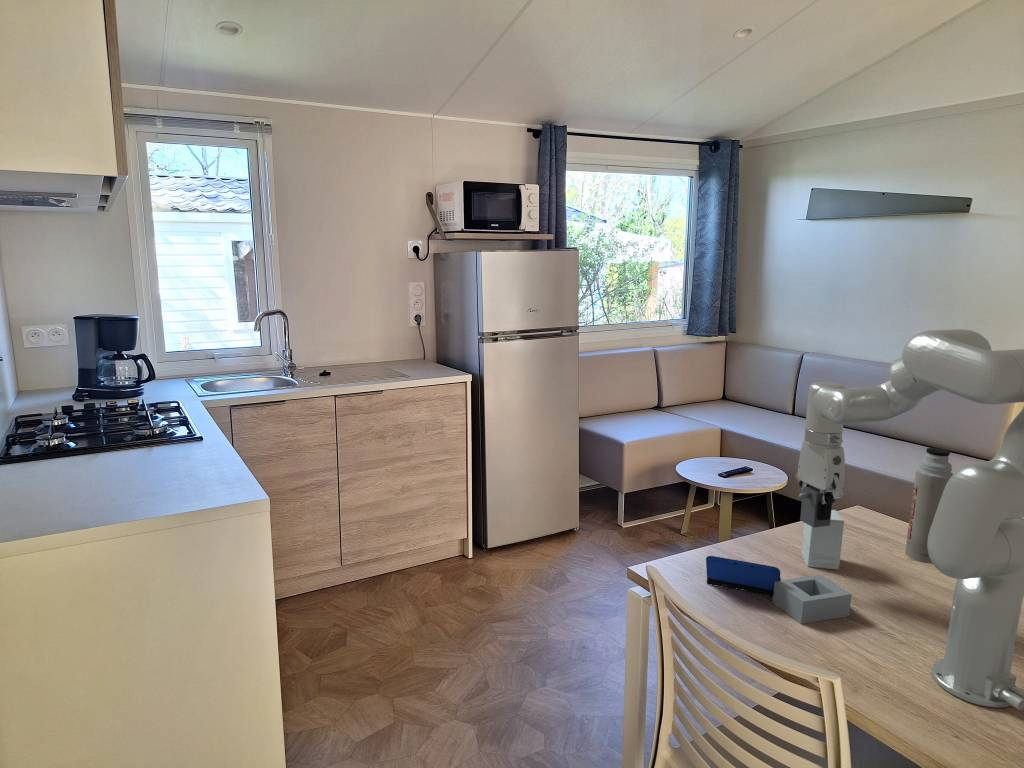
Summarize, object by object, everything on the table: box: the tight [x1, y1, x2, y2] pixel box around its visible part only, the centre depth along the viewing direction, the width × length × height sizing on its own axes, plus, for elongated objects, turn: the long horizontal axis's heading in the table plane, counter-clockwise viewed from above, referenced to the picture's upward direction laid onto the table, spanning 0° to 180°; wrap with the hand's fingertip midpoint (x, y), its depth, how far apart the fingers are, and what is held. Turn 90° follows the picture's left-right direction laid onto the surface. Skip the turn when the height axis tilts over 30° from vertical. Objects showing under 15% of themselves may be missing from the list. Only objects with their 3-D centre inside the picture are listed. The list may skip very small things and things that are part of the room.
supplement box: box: [800, 509, 845, 570], centre depth 165 cm, size 7×7×13 cm
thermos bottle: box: [904, 447, 954, 564], centre depth 168 cm, size 8×8×28 cm
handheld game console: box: [705, 555, 782, 598], centre depth 153 cm, size 16×13×9 cm
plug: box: [798, 486, 831, 528], centre depth 152 cm, size 4×7×8 cm, turn 106°
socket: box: [772, 574, 853, 625], centre depth 144 cm, size 9×12×5 cm
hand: (815, 514), depth 153 cm, fingers closed on plug, 4 cm apart
